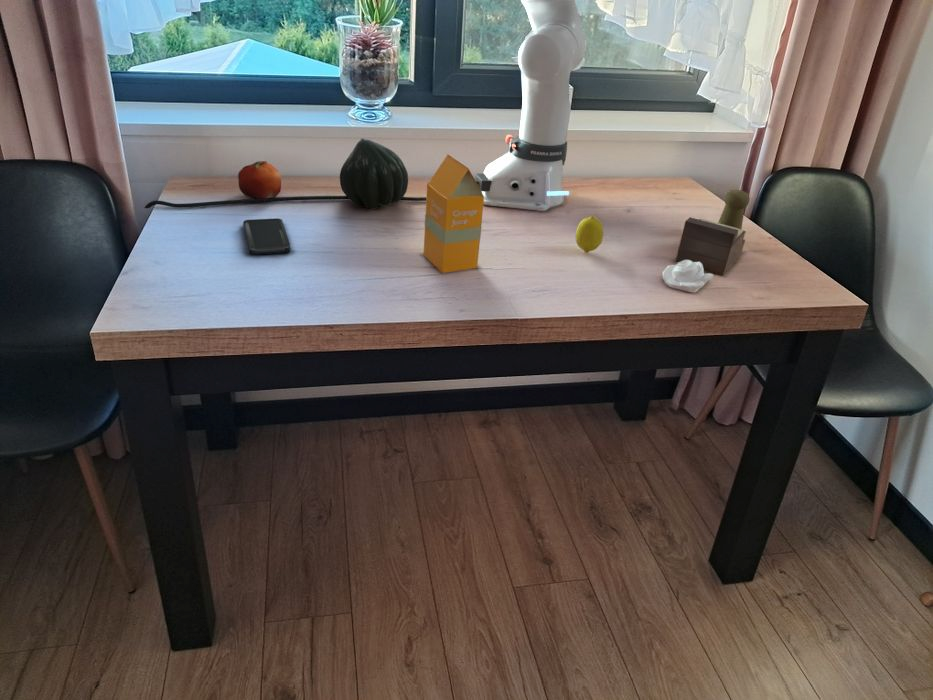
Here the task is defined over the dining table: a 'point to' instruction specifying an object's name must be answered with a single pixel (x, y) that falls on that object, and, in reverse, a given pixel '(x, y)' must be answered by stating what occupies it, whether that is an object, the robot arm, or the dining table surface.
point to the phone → (266, 236)
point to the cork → (734, 208)
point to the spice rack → (710, 244)
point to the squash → (373, 175)
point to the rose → (686, 276)
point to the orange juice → (453, 218)
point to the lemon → (589, 234)
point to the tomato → (259, 180)
